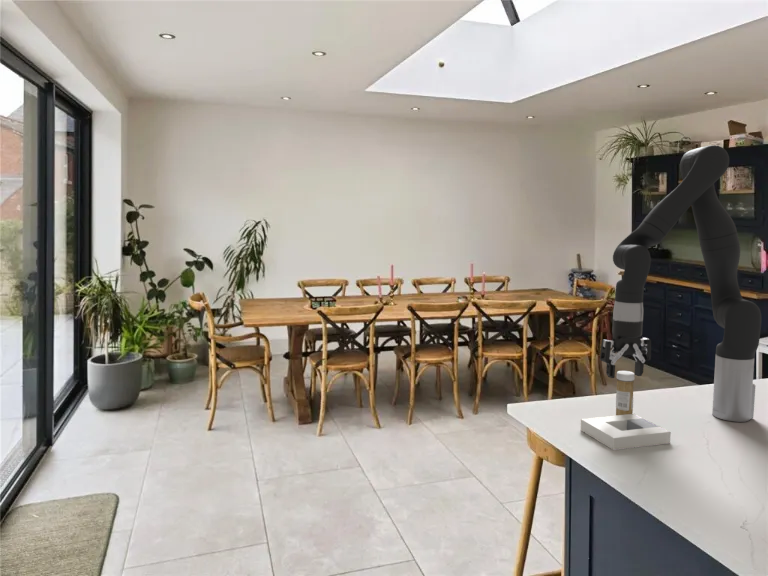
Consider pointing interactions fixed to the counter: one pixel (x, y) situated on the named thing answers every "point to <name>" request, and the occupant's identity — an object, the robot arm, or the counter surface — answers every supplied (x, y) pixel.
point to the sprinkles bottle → (624, 392)
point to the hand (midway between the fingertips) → (624, 376)
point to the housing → (625, 431)
